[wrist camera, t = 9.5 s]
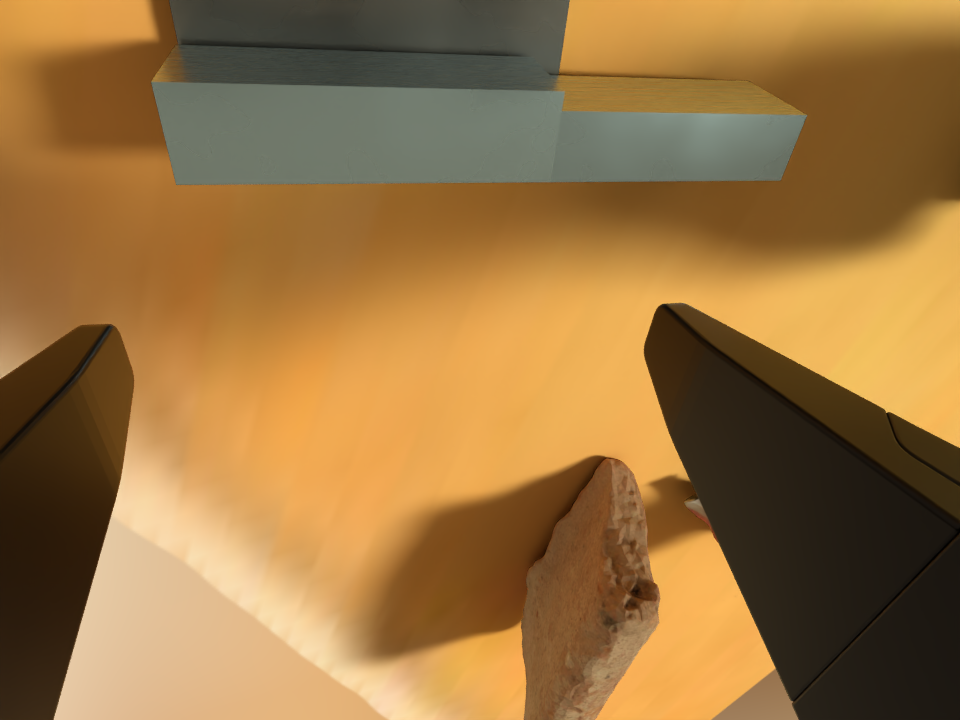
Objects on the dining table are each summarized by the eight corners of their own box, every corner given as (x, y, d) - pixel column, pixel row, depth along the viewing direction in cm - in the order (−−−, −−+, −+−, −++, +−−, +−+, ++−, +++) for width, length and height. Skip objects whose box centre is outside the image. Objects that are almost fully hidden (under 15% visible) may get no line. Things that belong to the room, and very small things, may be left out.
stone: (637, 450, 34) (572, 442, 34) (696, 605, 26) (612, 598, 26) (548, 640, 44) (496, 637, 44) (571, 792, 36) (508, 790, 36)
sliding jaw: (754, 64, 20) (814, 97, 18) (728, 140, 22) (780, 180, 19) (175, 44, 17) (150, 81, 14) (195, 137, 18) (176, 184, 16)
